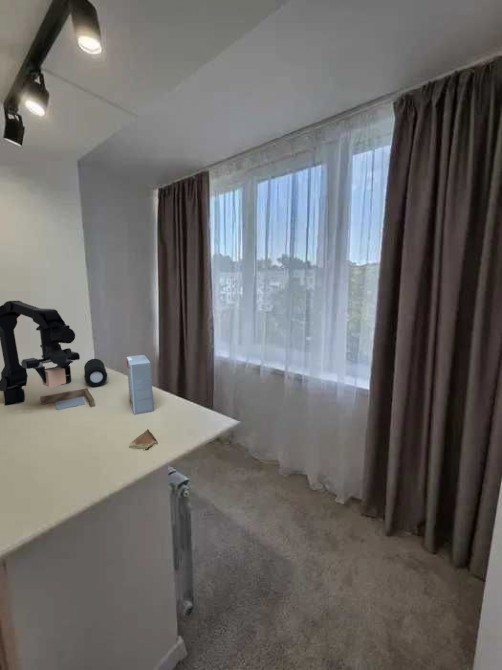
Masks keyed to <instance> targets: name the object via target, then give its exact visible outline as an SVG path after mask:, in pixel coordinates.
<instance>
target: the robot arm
mask: <svg viewBox="0 0 502 670" xmlns="http://www.w3.org/2000/svg"><path fill="white" fill-rule="evenodd" d="M20 316H25V317H28V318H29V319H31V320H32V322H34V323H35V324H37V325H38V326H37V327H36V328H35V330H36V331H39V334H40V348H41V351H42V354H41V358H39V359H38V358H35V357H30V358H26V359H25V358H24V359H22V360H21V362H20V359H19V354H18V353H19V352H18V348H17V347H18V346H17V342H16V335H15V328H16V327H17V325H18V318H19V317H20ZM75 339H76V333H75V331H74V330H73V329H72V328H70V325H69V324H68V325H67V324H66V323H65V320H63V318H62V316H61V315H60V313H59V312H58V310H57V309H54V308H40V307H37V306H33V305H31V304H28V303H25V302H23V301H21V300H8V301H6V302H4V303H3V304H2V305H0V346H1V352H2V357H3V359H2V360H3V362H4V363H3V365H4V366H3V368H2V370H1V372H0V377H1V379H0V392H3V397H4V398H3V399H4V404H3V405H4V406H9V405H15V404H19V403H24V402H25V399H26V396H25V389H24V388H23V387H25V386H27V383H28V371H27V370H30V369H32V370H33V369H34V370H35V371H36V372H37V373H38V375H39V377H40V379H41V381H42V380H43V382H44V383H46V375H45V369H46V366H43V365H44V364H48V363H52V364H53V365H55V364H56V365H57V364H58V363H60V367H61V368H64V369H65V374H66V370H67V368H68V366H69V365H70V364H72V363H74V361H79V360H80V359H81V356H80V353H78V352H76V351H72V349H71V348H70V347H69V348H65V349H62V345H61V344H72V343H74V340H75ZM20 363H21V364H20ZM43 382H42V383H43Z"/></svg>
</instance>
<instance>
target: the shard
mask: <svg viewBox="0 0 502 670" xmlns="http://www.w3.org/2000/svg"><path fill="white" fill-rule="evenodd" d="M158 443H159V442H158V440H157V439H156V437H155V436H154V435H153V433H152V432H151V431H150V430H149V429H148V428H147V429H146V430H145V431H144V432H143V433H141V434H139V436H137V437H136V438H134V440H133V441H132V442H130V443H129V445H128V448H129V449H133V448H138V449H137V450H141V449H146V450H147V449H149V448H151V447H153V446H152V445H154V444H156V445H158ZM150 446H151V447H150ZM154 446H155V445H154ZM148 447H149V448H148Z"/></svg>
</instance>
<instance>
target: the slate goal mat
mask: <svg viewBox="0 0 502 670" xmlns="http://www.w3.org/2000/svg"><path fill="white" fill-rule="evenodd" d="M54 404H55V406H56V410H64V409H70V408H74V407H79V406H82V405H86V402H85V400H84V398H83V397H78V398H72V399H67V400H62V401H57V402H54Z"/></svg>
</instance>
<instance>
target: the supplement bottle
mask: <svg viewBox="0 0 502 670" xmlns="http://www.w3.org/2000/svg"><path fill="white" fill-rule="evenodd" d="M57 366H58V367H60V363H58V364H56V365H55V367H57ZM71 371H72V370H71V365H70V364H69V366H68V368H67V370H66V374H65V377H66V383H65V384H61V386H63V385H68V384H70V383H72V372H71Z"/></svg>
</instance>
